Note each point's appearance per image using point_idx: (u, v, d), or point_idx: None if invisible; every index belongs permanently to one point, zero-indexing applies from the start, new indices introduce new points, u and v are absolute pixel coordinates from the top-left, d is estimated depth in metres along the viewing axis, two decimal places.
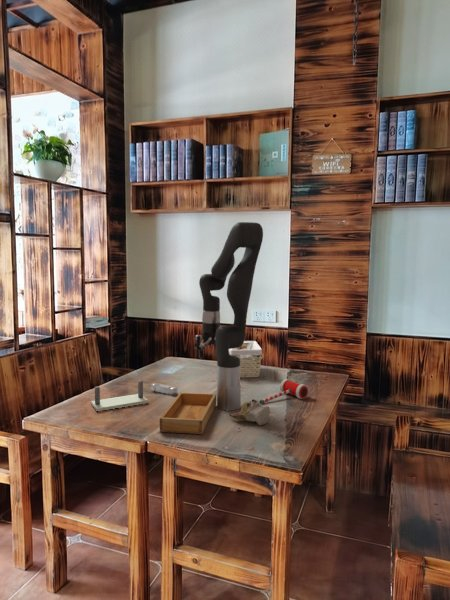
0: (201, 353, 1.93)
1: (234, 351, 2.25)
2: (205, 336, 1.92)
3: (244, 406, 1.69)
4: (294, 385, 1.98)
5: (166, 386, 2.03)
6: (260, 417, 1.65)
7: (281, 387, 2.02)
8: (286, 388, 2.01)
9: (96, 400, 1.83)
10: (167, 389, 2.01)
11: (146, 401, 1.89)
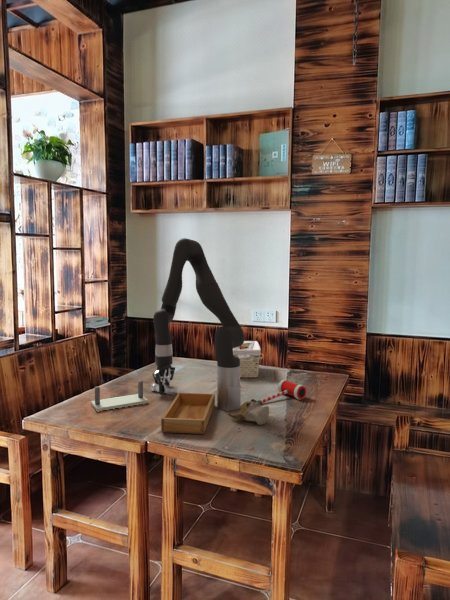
0: (166, 384, 2.06)
1: None
2: None
3: (243, 406, 1.69)
4: (292, 385, 1.98)
5: (166, 386, 2.03)
6: (259, 417, 1.65)
7: (279, 387, 2.02)
8: (284, 388, 2.00)
9: (96, 400, 1.83)
10: (167, 389, 2.01)
11: (146, 401, 1.89)
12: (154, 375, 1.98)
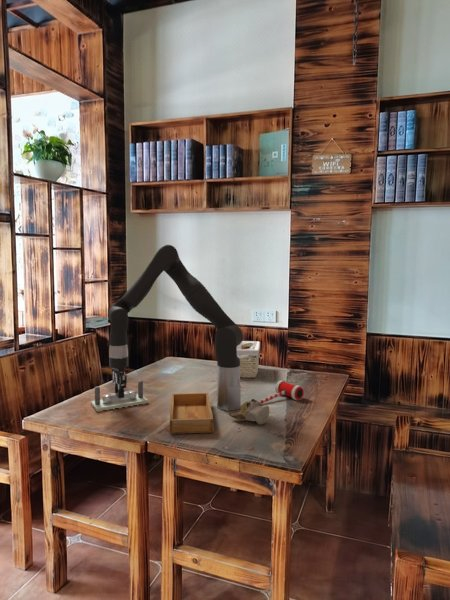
0: None
1: None
2: (114, 369, 1.89)
3: (244, 406, 1.69)
4: (290, 386, 1.96)
5: None
6: (260, 417, 1.65)
7: (276, 388, 2.01)
8: (281, 389, 1.99)
9: (96, 400, 1.83)
10: (127, 395, 1.88)
11: (146, 401, 1.89)
12: (123, 378, 1.81)
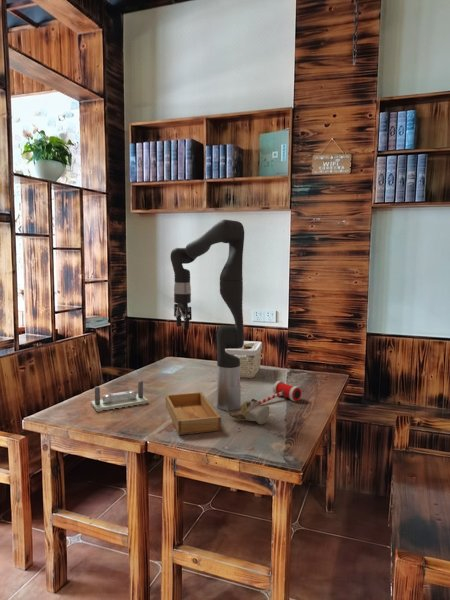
0: None
1: (228, 350, 2.27)
2: (177, 305, 2.09)
3: (244, 406, 1.69)
4: (287, 387, 1.95)
5: (122, 393, 1.88)
6: (260, 417, 1.65)
7: (274, 389, 1.99)
8: (279, 390, 1.98)
9: (96, 400, 1.83)
10: (127, 395, 1.88)
11: (146, 401, 1.89)
12: (188, 308, 2.01)
